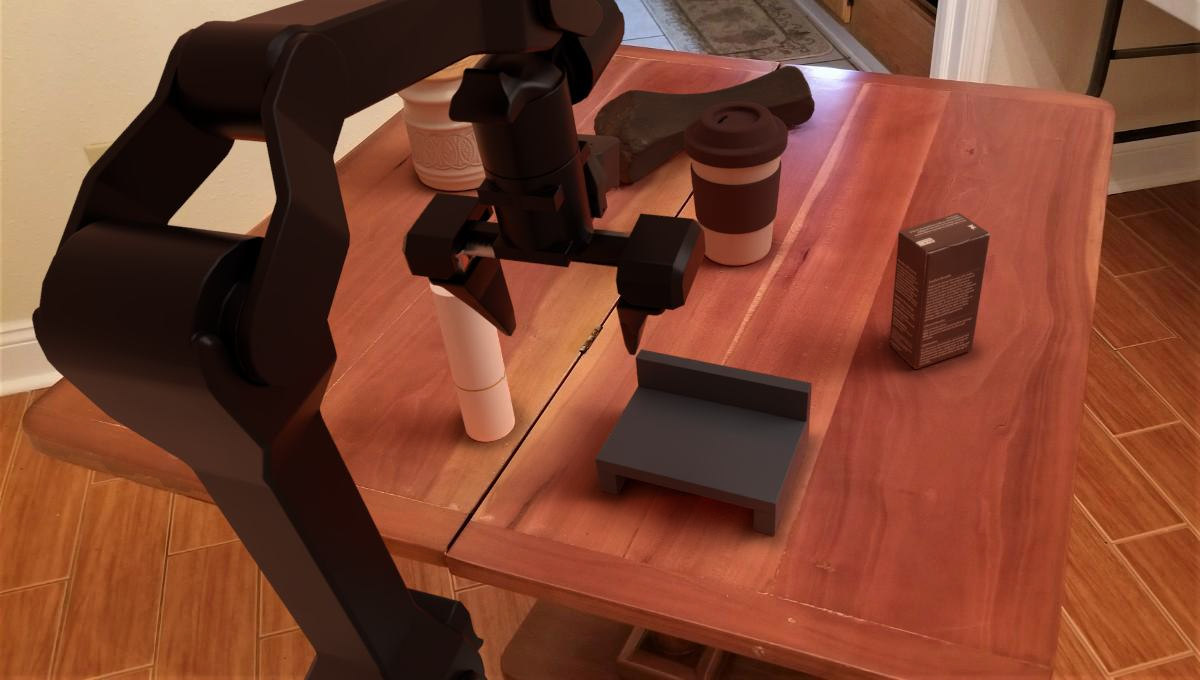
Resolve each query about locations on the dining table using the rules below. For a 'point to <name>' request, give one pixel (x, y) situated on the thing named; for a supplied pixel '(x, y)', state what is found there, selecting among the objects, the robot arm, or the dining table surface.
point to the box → (937, 289)
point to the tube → (475, 367)
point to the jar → (441, 132)
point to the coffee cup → (736, 178)
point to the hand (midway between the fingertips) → (571, 340)
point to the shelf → (711, 434)
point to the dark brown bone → (691, 116)
